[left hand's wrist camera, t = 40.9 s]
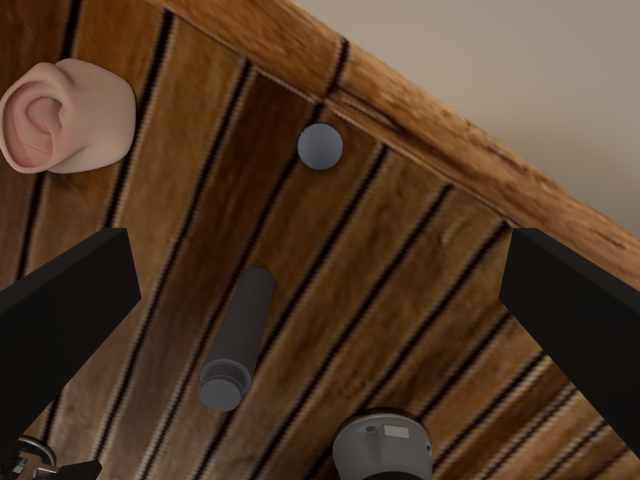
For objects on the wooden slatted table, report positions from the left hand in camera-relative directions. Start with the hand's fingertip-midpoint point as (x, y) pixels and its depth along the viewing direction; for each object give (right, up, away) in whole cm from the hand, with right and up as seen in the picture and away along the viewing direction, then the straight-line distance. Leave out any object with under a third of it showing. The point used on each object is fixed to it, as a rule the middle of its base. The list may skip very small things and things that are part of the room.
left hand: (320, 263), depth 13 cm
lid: (0, +11, +26) cm, 28 cm away
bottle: (-8, -5, +34) cm, 35 cm away
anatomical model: (-26, +14, +26) cm, 40 cm away
